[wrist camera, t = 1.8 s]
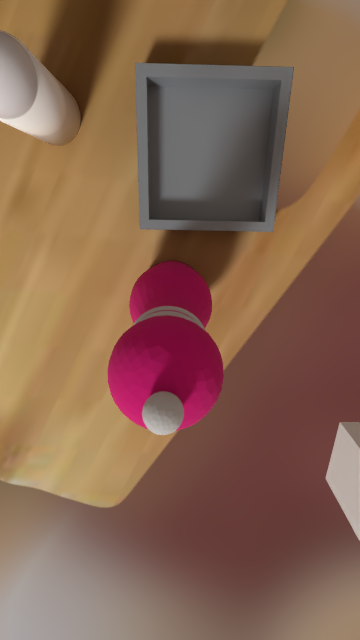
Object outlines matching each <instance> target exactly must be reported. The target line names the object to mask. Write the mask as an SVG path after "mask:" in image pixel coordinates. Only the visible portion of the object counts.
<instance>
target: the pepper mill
mask: <svg viewBox="0 0 360 640" xmlns="http://www.w3.org/2000/svg"><path fill="white" fill-rule="evenodd" d="M129 306H130V314H131V317H132V320H133V322H134V324H133V326H132V327H131V328H130V329H128V330H127V331H126V332H125V333H123V335H122V336H121V337H120V339H119V340H118V342H117V343H116V345H115V346H114V349H113V352H112V354H111V357H110V360H109V365H108V384H109V388H110V392H111V395H112V397H113V400H114V402H115V404H116V405H117V406H118V408H119V409H120V410H121V412H122V413H123V414H124V415H125V416H127V417H128V418H129V419H130V420H131V421H133V422H134V423H136V424H137V425H140V426H142V427H144V428H146V429H149V430H150V431H151V432H153V433H155V434H159V435H167V434H170V433H173V432H174V431H177V430H180V429H183V428H186V427H189V426H191V425H193V424H195V423H197V422H198V421H199V420H200V419H202V418H203V417H204V416H205V415H206V414H207V413H208V412H209V411H210V410H211V409H212V407H213V406H214V404H215V403H216V401H217V400H218V397H219V395H220V392H221V389H222V383H223V362H222V358H221V354H220V352H219V349H218V347H217V345H216V343H215V342H214V341H213V339H212V338H211V336H210V335H209V334H208V333H207V332H206V331H205V327H206V325H207V323H208V321H209V319H210V316H211V312H212V299H211V293H210V290H209V287H208V285H207V283H206V282H205V280H204V279H203V278H202V277H201V276H200V275H199V274H198V273H197V272H196V271H194V270H193V269H192V268H191V267H190V266H188V265H186V264H184V263H182V262H178V261H165V262H162V263H159V264H157V265H155V266H154V267H152V268H150V269H148V270H147V271H146V272H144V273H143V274H142V275H141V276H140V277H139V278H138V280H137V281H136V283H135V285H134V287H133V289H132V293H131V297H130V305H129Z"/></svg>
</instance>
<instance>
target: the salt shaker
mask: <svg viewBox="0 0 360 640" xmlns="http://www.w3.org/2000/svg"><path fill="white" fill-rule="evenodd" d="M0 121H2V122H4V123H6V124H8V125H10V126H12V127H14V128H16V129H19V130H21V131H23V132H25V133H27V134H29V135H31V136H33V137H35V138H38V139H40V140H42V141H44V142H46V143H48V144H51V145H56V146H60V145H65V144H67V143H69V142H71V141H72V140H73V139H74V138H75V137H76V135H77V133H78V131H79V128H80V123H81V116H80V110H79V107H78V104H77V102H76V100H75V99H74V97H73V96H72V95H71V93H70V92H69V91H68V90H67V89H66V88H65V87H64V86H63V85H62V84H61V83H60V82H59V81H58V80H57V79H56V78H55V77H54V76H53V75H52V74H51V73H50V72H49V71H48V70H47V68H46V67H45V66H44V65H43V64H42V63H41V62H40V61H39V60H38V59H37V58H36V57H35V56H34V55H33V54H32V53H31V52H30V51H29V50H28V49H27V48H26V47H25V46H24V45H23V44H22V43H21V42H20V41H19V40H18V39H17V38H15V37H14V36H12V35H11V34H9V33H7V32H4V31H1V30H0Z"/></svg>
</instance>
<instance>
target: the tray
mask: <svg viewBox="0 0 360 640" xmlns="http://www.w3.org/2000/svg"><path fill="white" fill-rule="evenodd" d="M293 70H294V67H272V66H269V67H268V66H234V65H197V64H159V63H135V74H136V110H137V146H138V182H139V218H140V229H156V230H207V231H257V232H273V229H274V221H275V213H276V204H277V197H278V189H279V181H280V173H281V165H282V157H283V149H284V141H285V134H286V126H287V117H288V110H289V102H290V94H291V85H292V78H293Z"/></svg>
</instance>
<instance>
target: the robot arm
mask: <svg viewBox="0 0 360 640" xmlns="http://www.w3.org/2000/svg"><path fill="white" fill-rule="evenodd" d="M326 480H327V482H328V484H329V486H330V487H331V489H332V491H333V493H334V495H335V496H336V498H337V500H338V502H339V504H340V506H341V508H342V509H343V511H344V513H345V515H346V517H347V519H348V520H349V522H350V524H351V526H352V528H353V530H354V531H355V533H356V535H357V537H358V539H359V540H360V422H340V424H339V428H338V432H337V436H336V440H335V444H334V448H333V452H332V456H331V460H330V464H329V467H328V471H327V475H326Z"/></svg>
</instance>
